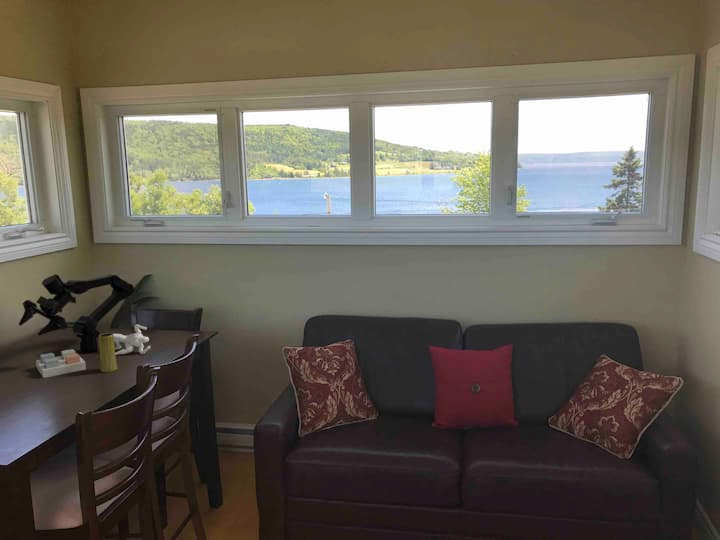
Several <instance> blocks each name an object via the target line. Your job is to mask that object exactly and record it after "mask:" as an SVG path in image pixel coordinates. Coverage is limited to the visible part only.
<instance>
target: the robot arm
mask: <svg viewBox="0 0 720 540" xmlns="http://www.w3.org/2000/svg"><path fill="white" fill-rule="evenodd" d="M41 284H42V286H43V287H44V289H45V290H46V292H48V294H50V295H52V296H53V295H54V296H53V297H52V298H51V297H49V298H46V297H44V296H42V295H40V296H39V298H38V299H37V300H36V302H34V301H32V300H30V299H27V300H25V301H23V302H22V306H23V309H24V312H23V315H22V317H21V318H20V321H19V323H18V326H22V325H24V324H25V323H27V322H28V321H29V320H30V319H32V318H33V317H34V315H37V314H38V315H40V316H42V317H44V318H46V319H47V320H49V321H48V323H47V324H46V325H45V326H44V327H42V329H40V331H39V332H38V333H37V336H42V335H45V334H48V333H51V332H54V331H64V330H65V329H67V326H68V324H67V322H66V319H65V317H62V316H61V315H59V314H58V313H62V312H63V309H64V308H65V307H66V306H67V305H68V304H69V303H71V304H76V303H77V296H73V294H74V295H82V294H84V293H87V292H88V291H90V290H91V289H95V288H99V287H104V286H108V285H109V286H110V287H111V289H112V290H111V294H110V295H109V296H108V297H107V298H106V299H105V300H104V301H103V302H102V303H101V304H99V305H98V306H97V308H95V309H94V310H93V311H92V312H91V313H90V314H89V315H87V316H84V315H81V316H79V318H78V319H77V320H75V321H74V324H73V325H72V332H73V334H74V335H76V338H79V341H78V348H79V349H78V350H79V352H81V354H89V353H96V352H100V348H99V346H98V339H99V335H101V333H100V331H98V330H97V327H98V323H99V322H100V321H101V320H102V319H103V318H105V316H106V315H107V314H109V312H110V311H112V310H113V309H114V308H115V307H116V306H117V305H118V304H119V303H120V302H121V301H123V300H127V299H128V298H130V297H132V295H134V294H135V287H134V285H133V284H132V283H130V282H129V283H128V281H126V280H124V279H122V278H120V277H119V276H118V275H117V274H108V275H104V276H98V277H94V278H88V279H70V280H69V279H68V280H67V281H66V282H63V280H62V279H61V277H60V276H59V274H56V273H55V274H52V275H51V276H47V278H44V280H43V281H41ZM37 304H39V307H38V306H37ZM98 348H99V349H98Z"/></svg>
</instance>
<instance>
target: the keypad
mask: <svg viewBox="0 0 720 540" xmlns="http://www.w3.org/2000/svg"><path fill="white" fill-rule="evenodd" d="M56 357H57V359H58V360H59V366H58V367H53V368H47V369H46V368H45V366H44V364H42V362H41V359H38V360H35V363H36V364H35V365H36V369H37V371H38V372H39V373H40V374H39V375H41V376H42V378H43V379H44V378H50V377H55V376H60V375H65V374H69V373H70V374H71V373H74V372H79V371H85V370H87V368H86V366H87V365H86V364H87V363H86V361H85V360H84V359H83V358H82V357H81V356H80V362H79V363H73V364H67V363H66V361H65V360H63V359H62V355H61V356H56Z"/></svg>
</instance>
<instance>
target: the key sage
mask: <svg viewBox="0 0 720 540" xmlns="http://www.w3.org/2000/svg"><path fill="white" fill-rule="evenodd" d="M60 353H61V356H62V359H63V360H65V355H71V354H76V353H77V352H76V350H74V349H73V348H71V349H64V350H62V351H60Z"/></svg>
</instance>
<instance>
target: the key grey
mask: <svg viewBox="0 0 720 540" xmlns="http://www.w3.org/2000/svg"><path fill="white" fill-rule="evenodd" d="M57 357H58V356H55V357H54V358H49V359H44V366H45V368H46V369H47V368H53V367H58V366H59V360H58V359H57Z"/></svg>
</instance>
